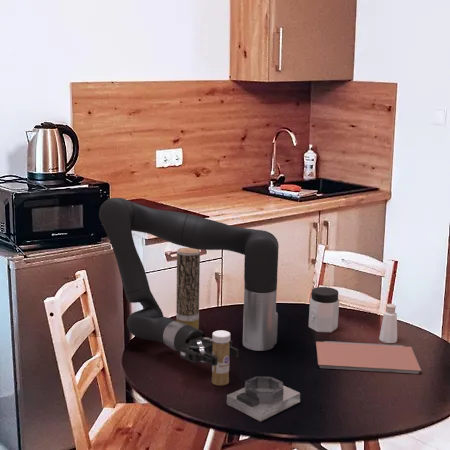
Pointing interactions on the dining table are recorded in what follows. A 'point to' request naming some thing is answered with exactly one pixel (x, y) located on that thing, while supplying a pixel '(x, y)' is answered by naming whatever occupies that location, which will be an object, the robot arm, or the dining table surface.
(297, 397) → the octagonal ring base plate
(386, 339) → the salt shaker
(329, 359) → the notebook
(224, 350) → the sprinkles bottle
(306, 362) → the dining table surface
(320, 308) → the jar
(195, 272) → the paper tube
